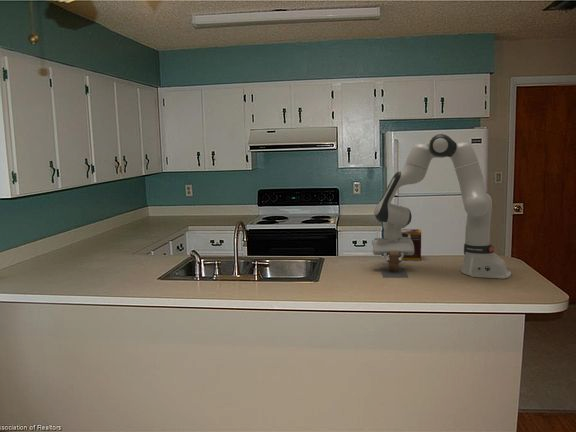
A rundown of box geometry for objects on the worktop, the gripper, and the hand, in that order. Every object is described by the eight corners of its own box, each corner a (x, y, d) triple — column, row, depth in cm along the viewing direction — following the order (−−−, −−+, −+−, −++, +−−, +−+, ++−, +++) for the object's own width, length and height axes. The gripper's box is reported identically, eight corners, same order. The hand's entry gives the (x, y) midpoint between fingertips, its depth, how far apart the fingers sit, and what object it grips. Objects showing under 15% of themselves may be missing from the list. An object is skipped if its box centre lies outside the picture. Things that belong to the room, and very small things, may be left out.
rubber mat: (380, 268, 265) (380, 267, 265) (404, 268, 263) (404, 267, 263) (382, 278, 245) (382, 277, 245) (408, 278, 244) (408, 277, 244)
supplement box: (421, 260, 279) (421, 232, 277) (392, 260, 282) (392, 232, 280) (420, 256, 289) (420, 229, 287) (392, 256, 292) (392, 228, 290)
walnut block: (388, 266, 259) (389, 251, 254) (397, 266, 259) (398, 251, 253) (389, 271, 256) (389, 255, 251) (398, 271, 256) (399, 255, 250)
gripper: (371, 234, 260) (372, 258, 252) (413, 234, 258) (415, 258, 249) (371, 241, 265) (372, 264, 257) (412, 241, 263) (414, 265, 255)
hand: (394, 261), depth 253 cm, fingers closed on walnut block, 4 cm apart
